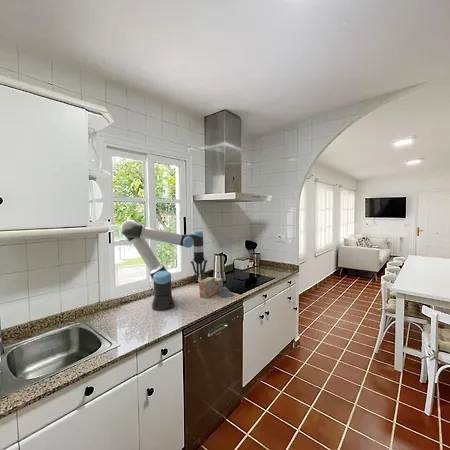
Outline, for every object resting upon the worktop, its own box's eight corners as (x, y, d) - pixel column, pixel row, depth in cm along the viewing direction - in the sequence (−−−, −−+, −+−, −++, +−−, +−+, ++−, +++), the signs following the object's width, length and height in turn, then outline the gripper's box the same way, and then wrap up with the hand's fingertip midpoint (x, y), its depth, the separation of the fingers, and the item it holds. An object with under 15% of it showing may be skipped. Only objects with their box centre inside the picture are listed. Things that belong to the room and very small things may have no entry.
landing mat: (221, 297, 186) (221, 296, 186) (214, 288, 207) (214, 288, 207) (234, 295, 189) (234, 295, 189) (225, 287, 210) (225, 286, 210)
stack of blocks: (217, 288, 205) (216, 273, 205) (223, 289, 202) (222, 274, 201) (199, 296, 188) (198, 281, 188) (206, 298, 185) (204, 282, 184)
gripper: (191, 252, 185) (192, 284, 186) (208, 251, 189) (209, 282, 190) (189, 251, 192) (190, 281, 193) (205, 250, 196) (206, 279, 197)
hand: (199, 281), depth 191 cm, fingers closed
